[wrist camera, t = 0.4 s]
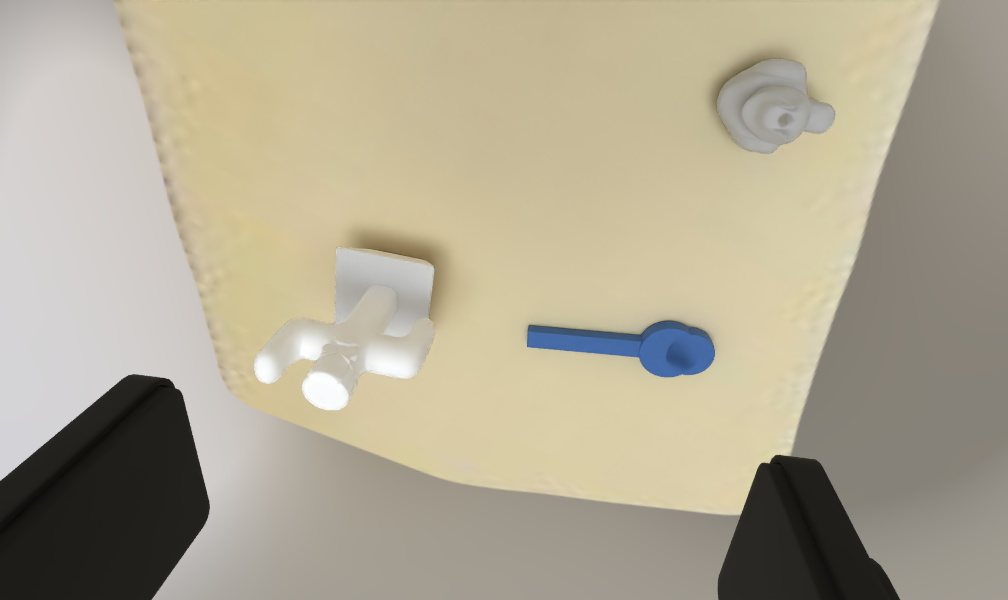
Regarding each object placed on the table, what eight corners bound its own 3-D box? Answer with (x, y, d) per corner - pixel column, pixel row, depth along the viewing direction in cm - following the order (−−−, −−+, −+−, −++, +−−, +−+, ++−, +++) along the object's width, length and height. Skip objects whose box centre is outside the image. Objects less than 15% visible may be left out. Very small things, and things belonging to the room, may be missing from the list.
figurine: (448, 327, 48) (398, 455, 35) (337, 305, 48) (247, 423, 35) (459, 249, 45) (408, 358, 31) (340, 225, 45) (240, 324, 32)
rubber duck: (726, 46, 36) (762, 60, 29) (832, 66, 36) (893, 85, 29) (698, 133, 38) (724, 166, 32) (796, 152, 38) (844, 189, 31)
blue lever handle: (526, 356, 48) (525, 364, 47) (529, 308, 46) (528, 316, 45) (705, 372, 47) (708, 381, 46) (717, 324, 45) (720, 332, 44)
